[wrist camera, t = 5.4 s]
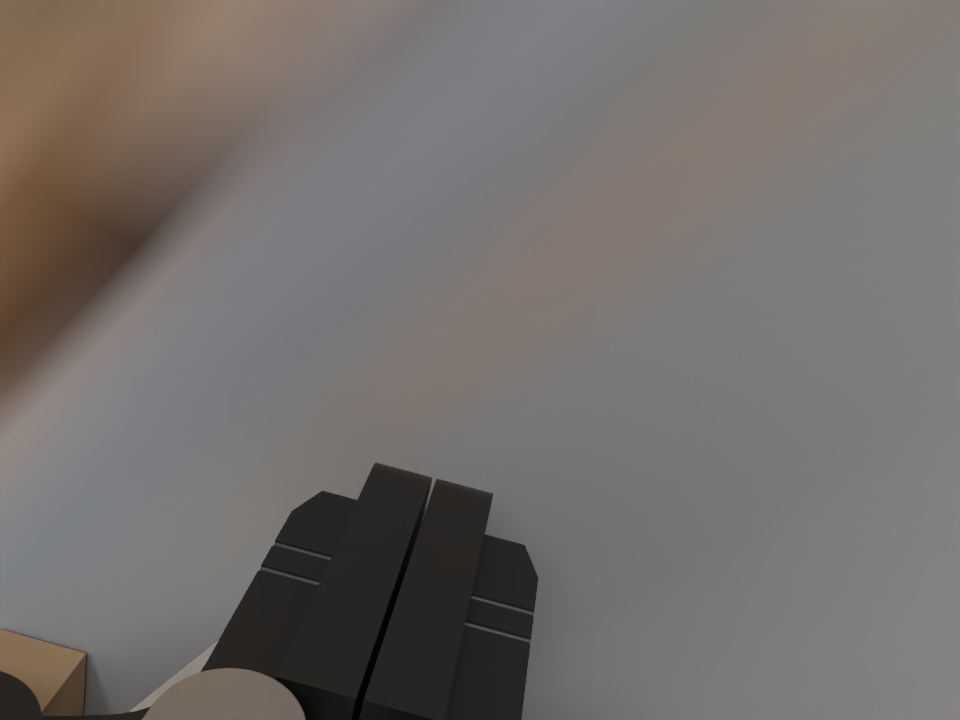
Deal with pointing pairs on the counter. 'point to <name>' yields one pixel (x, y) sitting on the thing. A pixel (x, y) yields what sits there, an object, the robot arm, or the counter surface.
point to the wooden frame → (46, 672)
